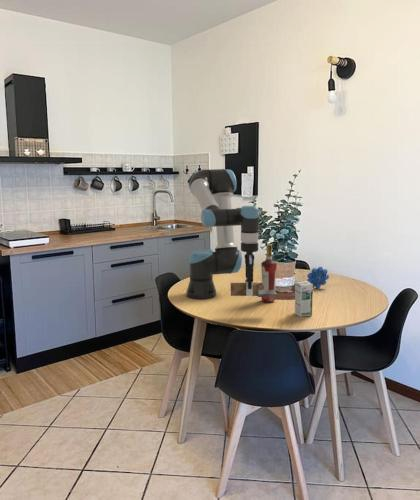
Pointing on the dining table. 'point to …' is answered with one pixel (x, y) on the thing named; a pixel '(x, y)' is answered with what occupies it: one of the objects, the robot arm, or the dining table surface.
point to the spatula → (240, 290)
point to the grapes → (318, 277)
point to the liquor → (268, 273)
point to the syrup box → (303, 298)
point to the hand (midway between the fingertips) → (249, 294)
